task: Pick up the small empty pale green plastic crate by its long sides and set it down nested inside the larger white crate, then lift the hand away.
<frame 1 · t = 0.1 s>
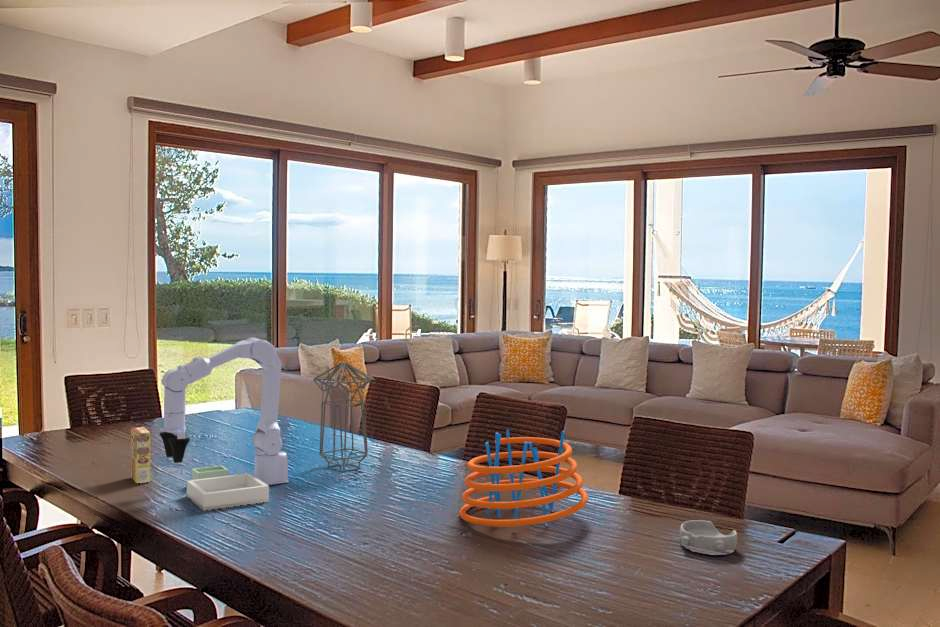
hand: (174, 459, 232), 10 cm above the table, tool pointing down, fingers open, 7 cm apart
dish: (706, 549, 200), on the table
green crate: (209, 485, 242), on the table
geometric lantern: (341, 468, 269), on the table
candy box: (140, 480, 246), on the table
white crate: (227, 499, 229), on the table
toy basket: (522, 519, 219), on the table
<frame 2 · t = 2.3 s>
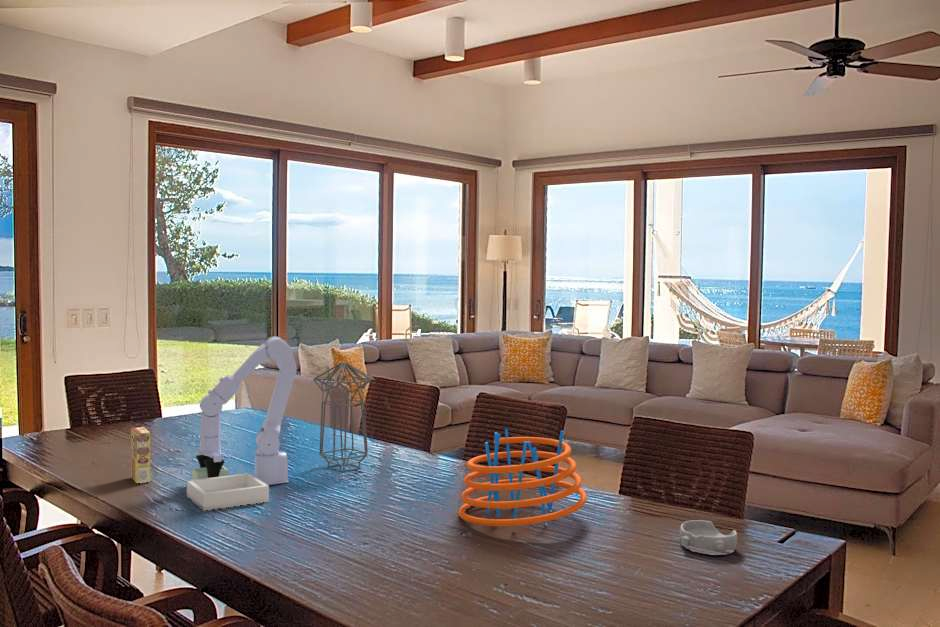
hand: (209, 481, 242), 1 cm above the table, tool pointing down, fingers closed on green crate, 6 cm apart
green crate: (209, 485, 242), on the table, touching gripper
everything else where it was.
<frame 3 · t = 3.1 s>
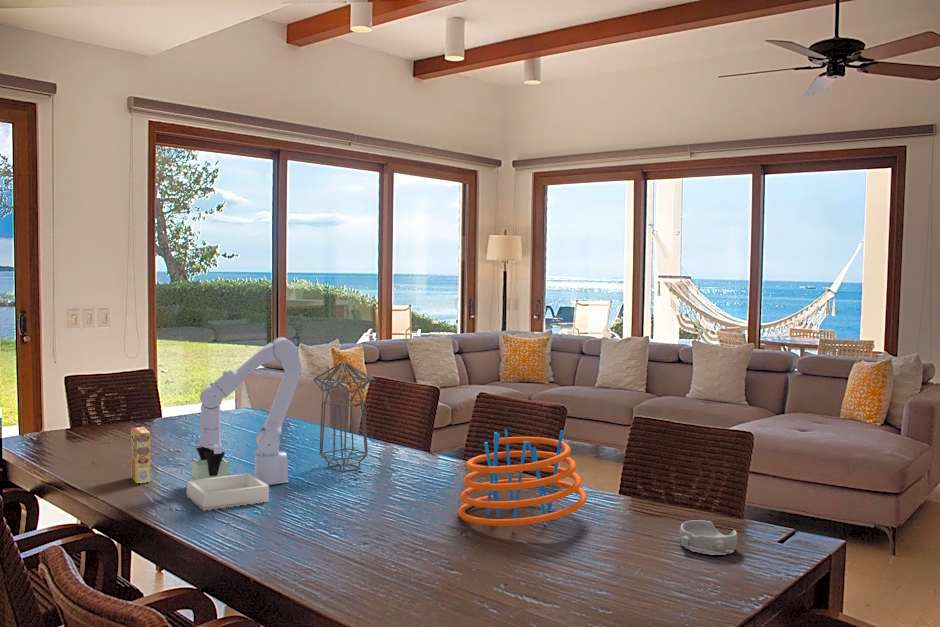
hand: (210, 473, 242), 4 cm above the table, tool pointing down, fingers closed on green crate, 6 cm apart
green crate: (210, 478, 242), point 2 cm above the table, touching gripper
everything else where it was.
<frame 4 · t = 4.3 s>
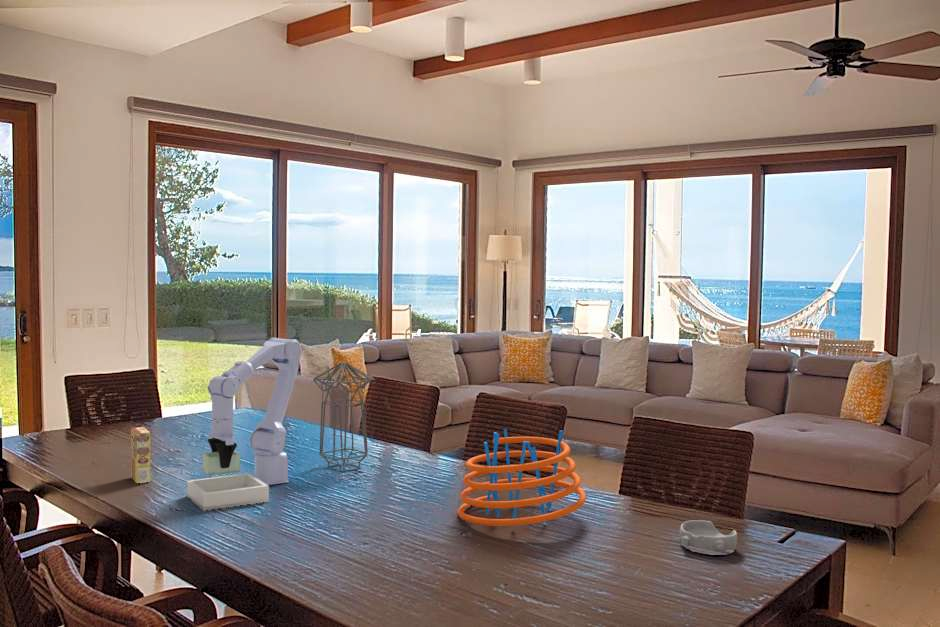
hand: (221, 465, 233), 8 cm above the table, tool pointing down, fingers closed on green crate, 6 cm apart
green crate: (221, 471, 233), point 7 cm above the table, touching gripper
everything else where it was.
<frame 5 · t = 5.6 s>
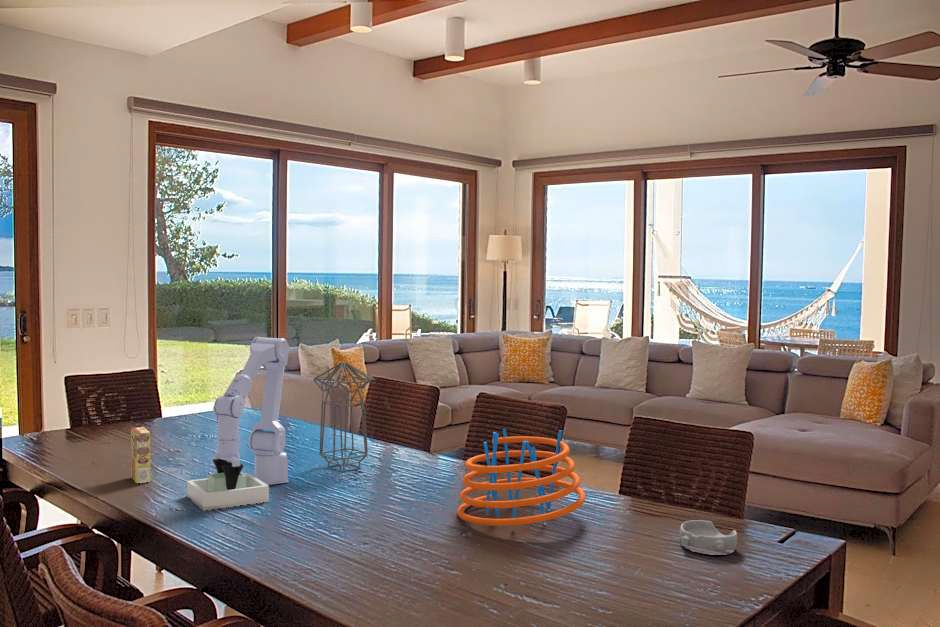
hand: (227, 486, 229), 4 cm above the table, tool pointing down, fingers closed on green crate, 6 cm apart
green crate: (226, 492, 229), point 2 cm above the table, touching gripper
when the fingers open (3 cm above the table, at t = 6.6 s): green crate stays where it is, resting on white crate.
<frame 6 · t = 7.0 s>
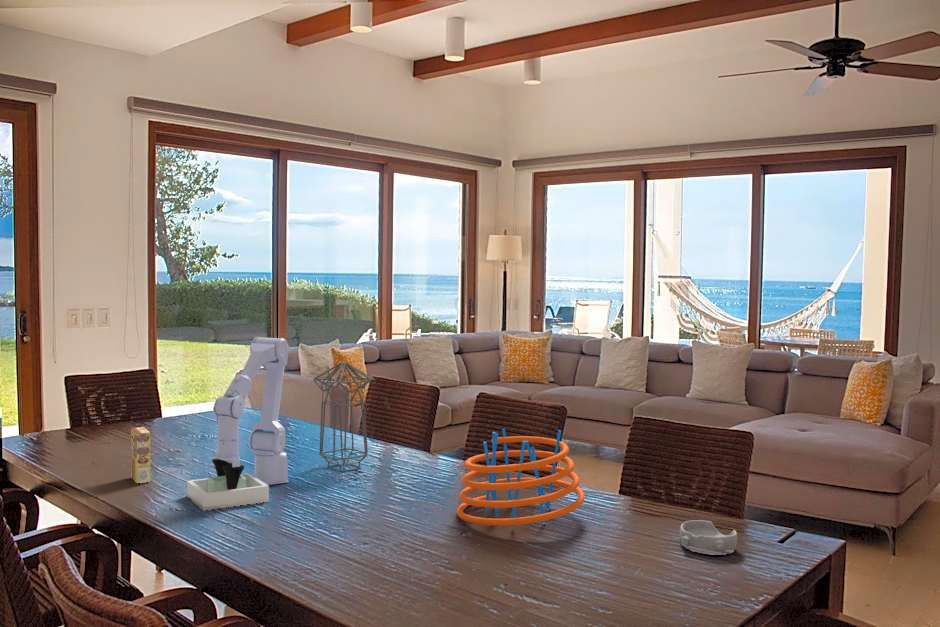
hand: (227, 487, 229), 3 cm above the table, tool pointing down, fingers open, 7 cm apart
green crate: (227, 495, 229), point 1 cm above the table, touching white crate
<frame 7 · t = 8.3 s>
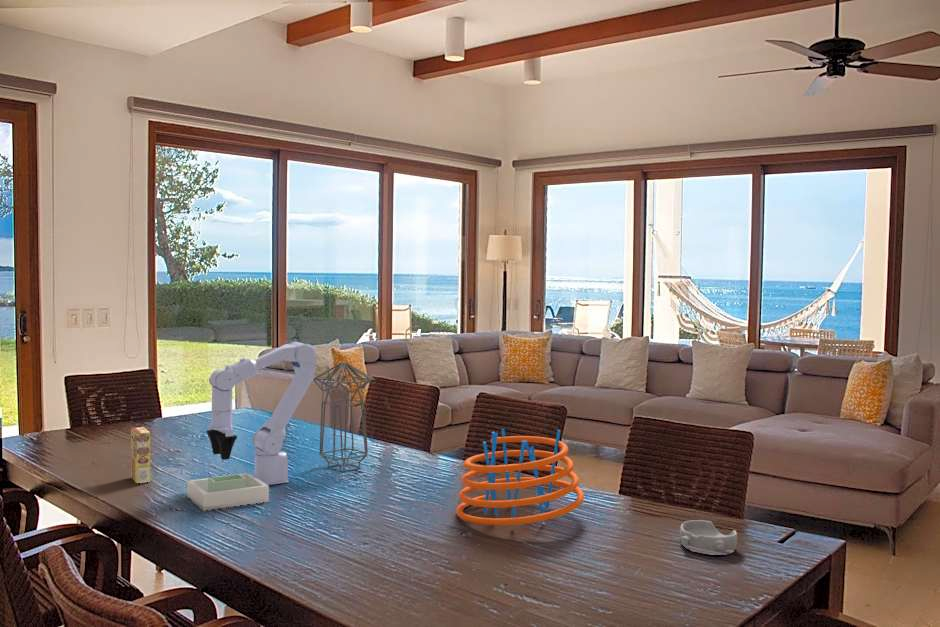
hand: (221, 456, 239), 9 cm above the table, tool pointing down, fingers open, 7 cm apart
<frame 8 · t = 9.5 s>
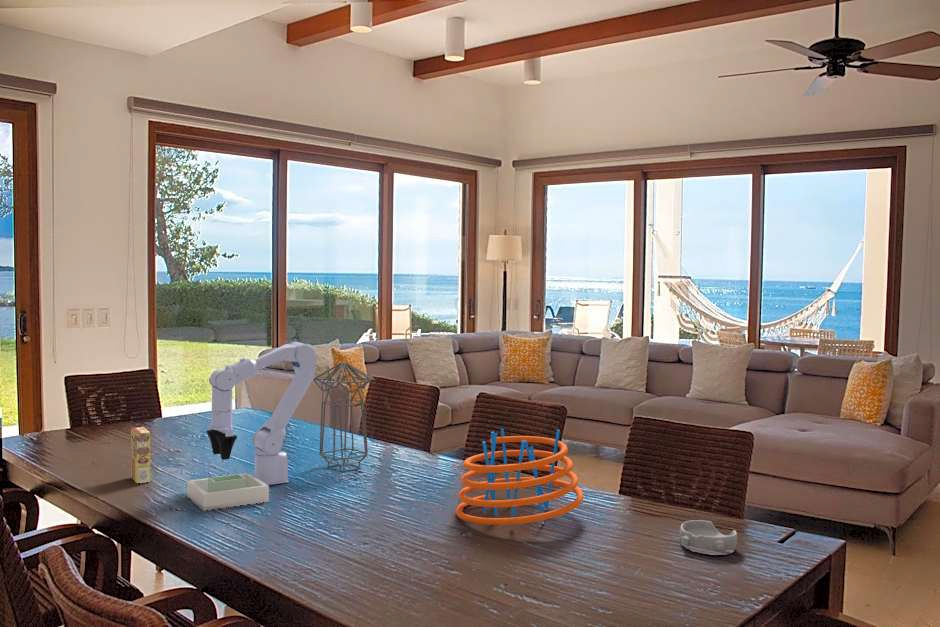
hand: (221, 456, 239), 9 cm above the table, tool pointing down, fingers open, 7 cm apart
at the end: green crate 0.1 cm off-centre on the white crate, point 1.0 cm above the white crate's base; green crate tilted 0°; the gripper is holding nothing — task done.
